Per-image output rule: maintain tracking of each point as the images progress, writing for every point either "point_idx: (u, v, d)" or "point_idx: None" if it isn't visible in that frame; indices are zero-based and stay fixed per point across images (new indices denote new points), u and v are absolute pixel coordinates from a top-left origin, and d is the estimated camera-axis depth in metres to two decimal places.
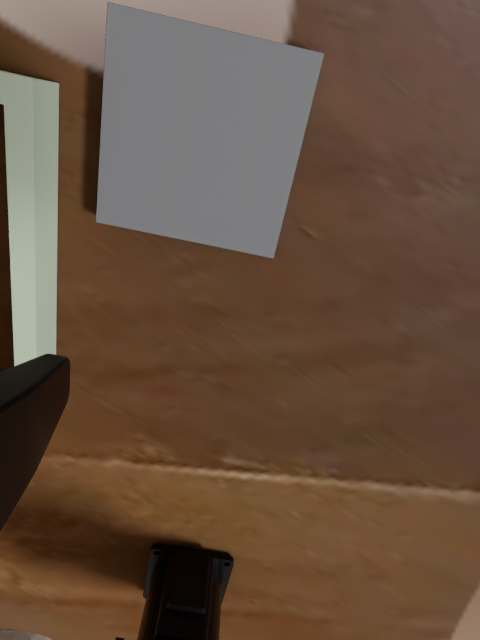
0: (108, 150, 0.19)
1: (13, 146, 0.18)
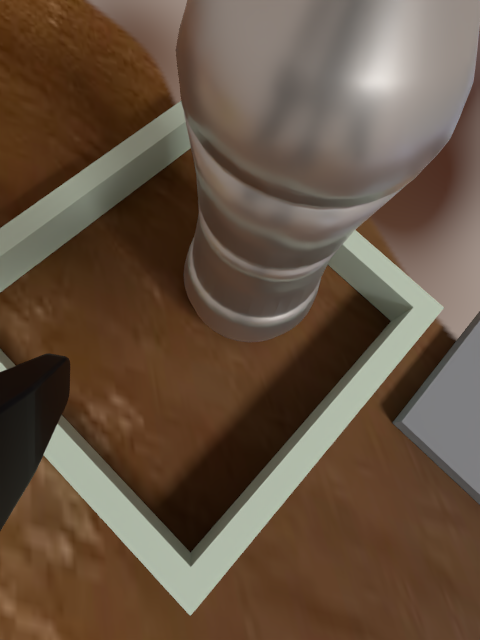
0: (444, 379, 0.22)
1: (400, 331, 0.21)
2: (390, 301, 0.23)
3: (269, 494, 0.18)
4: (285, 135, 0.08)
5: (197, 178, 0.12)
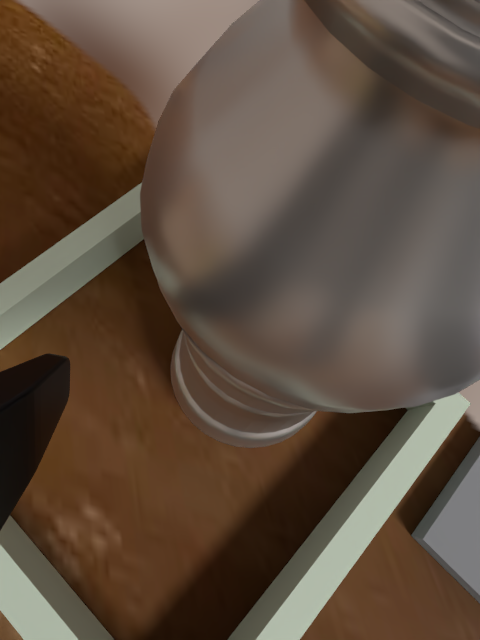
0: (471, 485, 0.19)
1: (422, 434, 0.18)
2: None
3: None
4: (298, 356, 0.05)
5: None
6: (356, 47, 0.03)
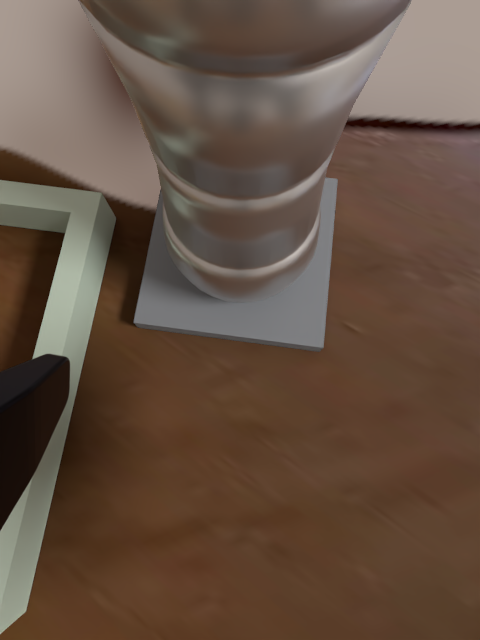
0: (155, 256, 0.21)
1: (69, 243, 0.19)
2: (60, 220, 0.20)
3: None
4: None
5: None
6: None
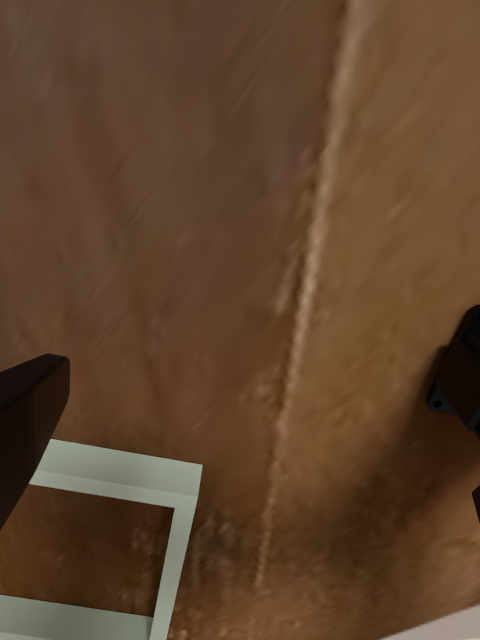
0: None
1: None
2: None
3: (104, 489, 0.24)
4: None
5: None
6: None
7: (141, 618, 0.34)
